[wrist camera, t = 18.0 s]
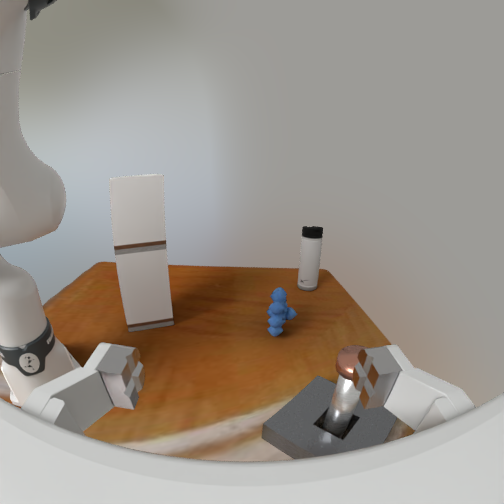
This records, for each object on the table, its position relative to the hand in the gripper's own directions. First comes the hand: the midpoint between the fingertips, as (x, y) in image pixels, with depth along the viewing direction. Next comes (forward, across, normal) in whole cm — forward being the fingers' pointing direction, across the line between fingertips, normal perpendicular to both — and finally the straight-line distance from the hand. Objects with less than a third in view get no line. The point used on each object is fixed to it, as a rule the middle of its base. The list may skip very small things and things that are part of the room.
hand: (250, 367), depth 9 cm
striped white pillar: (+50, +24, +30) cm, 63 cm away
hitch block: (+15, -13, +30) cm, 36 cm away
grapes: (+44, -8, +30) cm, 54 cm away
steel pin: (+15, -13, +30) cm, 36 cm away
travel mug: (+70, -20, +30) cm, 79 cm away
